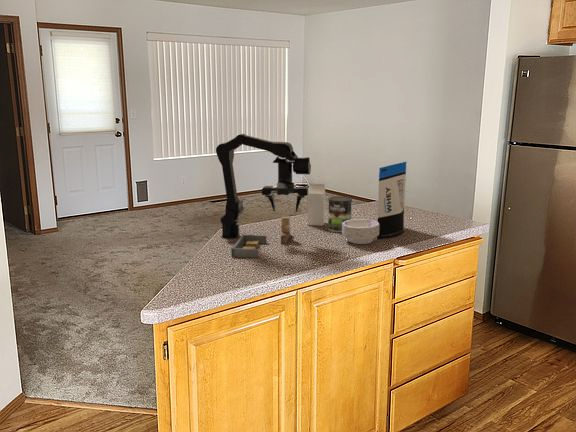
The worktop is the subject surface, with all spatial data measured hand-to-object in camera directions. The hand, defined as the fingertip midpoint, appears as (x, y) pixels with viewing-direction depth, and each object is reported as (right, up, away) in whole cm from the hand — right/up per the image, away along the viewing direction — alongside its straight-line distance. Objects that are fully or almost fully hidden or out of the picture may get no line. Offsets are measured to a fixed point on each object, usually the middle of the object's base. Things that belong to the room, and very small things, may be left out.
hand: (285, 211), depth 219 cm
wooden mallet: (0, -12, +3) cm, 12 cm away
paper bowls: (+31, -13, -1) cm, 33 cm away
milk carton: (+14, -6, +28) cm, 32 cm away
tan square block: (-13, -14, -7) cm, 21 cm away
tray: (-14, -15, -11) cm, 23 cm away
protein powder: (+45, -10, +11) cm, 48 cm away
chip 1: (-14, -16, -15) cm, 27 cm away
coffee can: (+24, -8, +17) cm, 31 cm away
